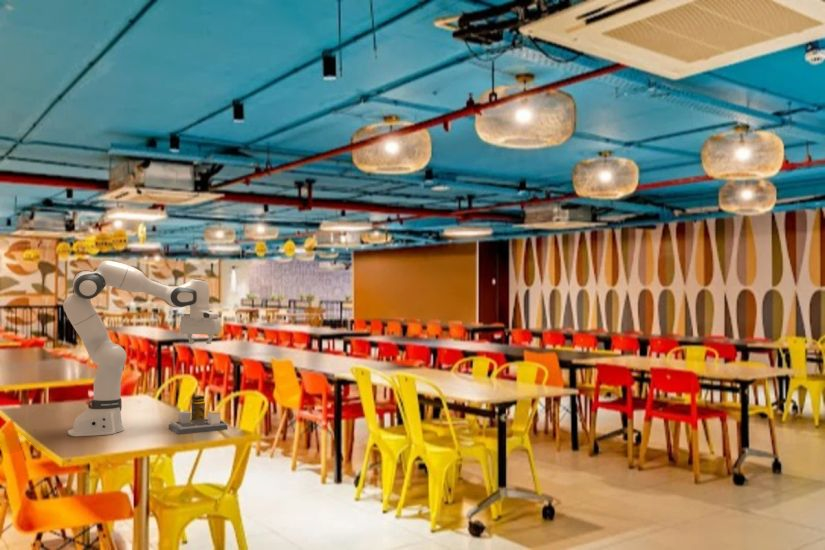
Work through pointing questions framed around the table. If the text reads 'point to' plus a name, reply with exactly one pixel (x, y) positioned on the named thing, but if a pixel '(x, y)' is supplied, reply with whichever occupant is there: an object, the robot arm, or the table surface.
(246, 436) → the table surface
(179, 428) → the grey tray
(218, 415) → the fader
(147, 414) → the table surface
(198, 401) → the condiment
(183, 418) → the block
